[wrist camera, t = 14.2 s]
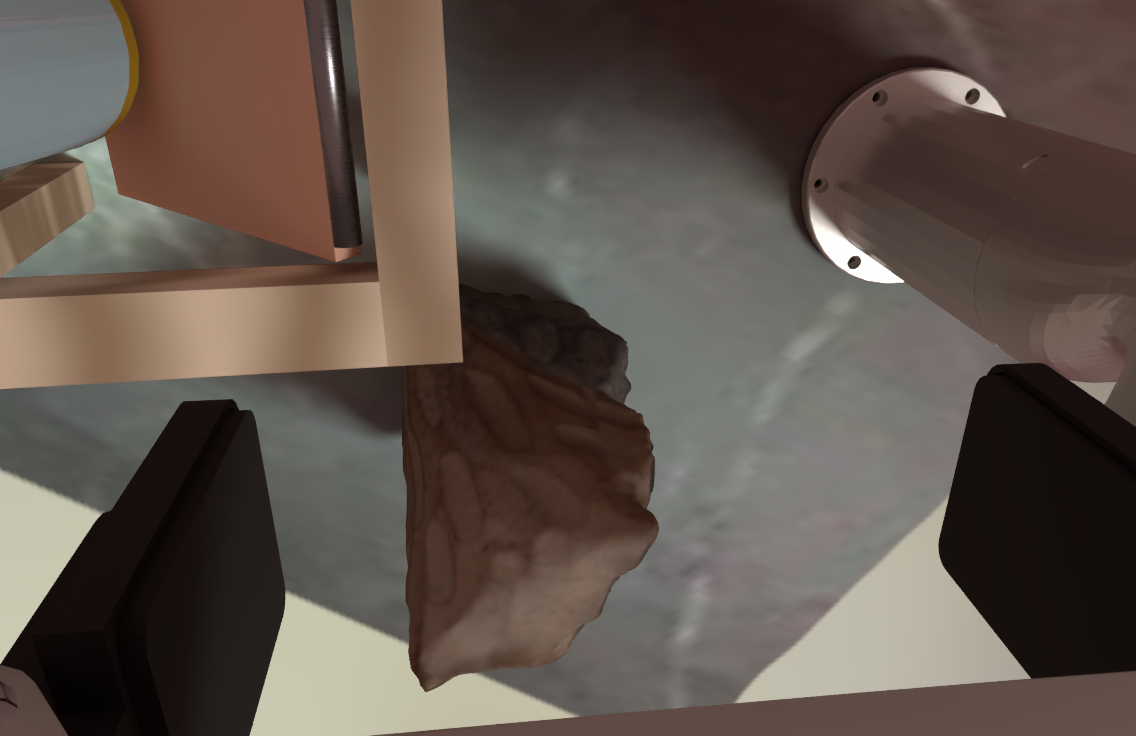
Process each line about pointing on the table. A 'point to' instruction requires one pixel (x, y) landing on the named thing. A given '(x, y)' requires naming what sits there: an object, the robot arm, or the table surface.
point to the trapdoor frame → (261, 294)
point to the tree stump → (519, 486)
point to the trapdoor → (243, 120)
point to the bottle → (63, 75)
